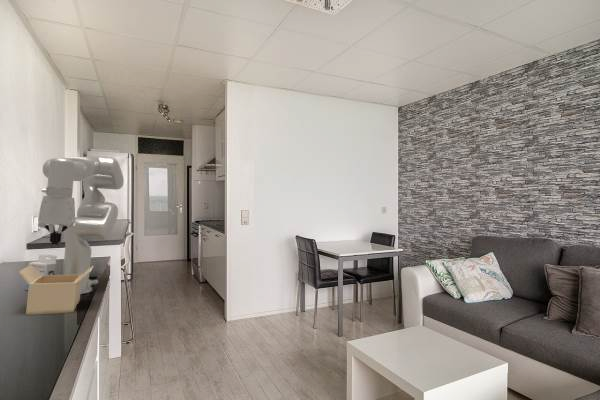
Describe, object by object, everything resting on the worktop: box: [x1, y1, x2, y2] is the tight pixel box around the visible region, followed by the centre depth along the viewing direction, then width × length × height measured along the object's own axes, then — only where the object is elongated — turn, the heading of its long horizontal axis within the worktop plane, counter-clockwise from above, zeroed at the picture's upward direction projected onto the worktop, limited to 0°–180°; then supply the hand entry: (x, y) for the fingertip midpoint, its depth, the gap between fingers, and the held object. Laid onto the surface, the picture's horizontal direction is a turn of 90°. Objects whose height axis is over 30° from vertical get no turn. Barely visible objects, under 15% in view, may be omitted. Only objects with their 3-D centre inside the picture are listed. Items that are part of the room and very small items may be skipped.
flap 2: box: [77, 265, 95, 283], centre depth 124 cm, size 5×14×1 cm
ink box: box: [25, 253, 57, 290], centre depth 141 cm, size 9×5×15 cm, turn 84°
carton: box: [25, 274, 82, 316], centre depth 120 cm, size 16×13×10 cm
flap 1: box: [18, 264, 40, 284], centre depth 117 cm, size 5×14×1 cm
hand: (55, 244), depth 121 cm, fingers closed
